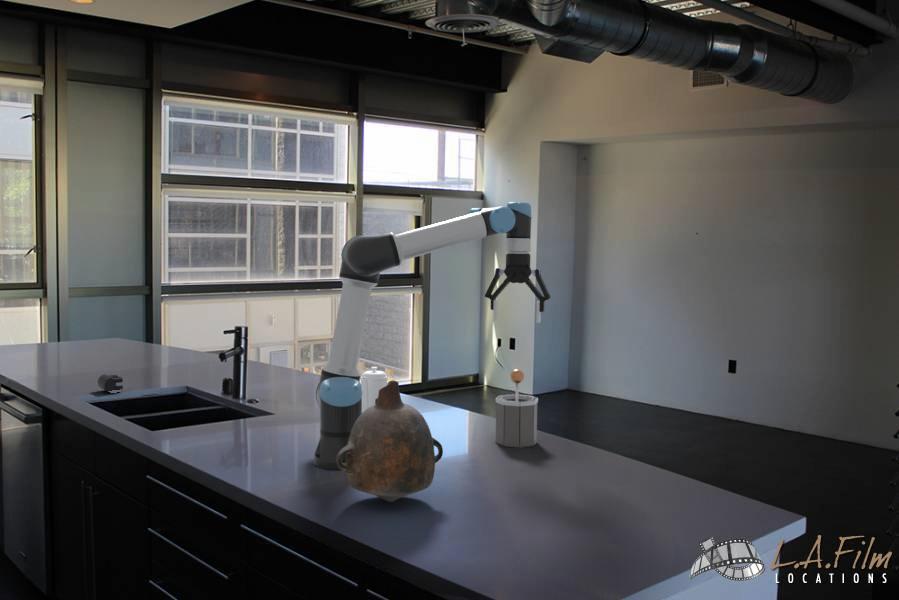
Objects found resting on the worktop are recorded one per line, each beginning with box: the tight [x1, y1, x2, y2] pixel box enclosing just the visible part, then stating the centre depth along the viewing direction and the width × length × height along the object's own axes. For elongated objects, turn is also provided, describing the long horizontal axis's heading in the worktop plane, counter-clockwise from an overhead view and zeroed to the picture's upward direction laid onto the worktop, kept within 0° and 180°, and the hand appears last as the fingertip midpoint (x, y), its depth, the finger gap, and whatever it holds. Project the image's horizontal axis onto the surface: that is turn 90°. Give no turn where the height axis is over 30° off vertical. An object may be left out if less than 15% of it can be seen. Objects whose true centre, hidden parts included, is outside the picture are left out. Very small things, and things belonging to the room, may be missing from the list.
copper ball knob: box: [509, 368, 525, 401], centre depth 257 cm, size 8×8×21 cm
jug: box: [336, 379, 444, 503], centre depth 198 cm, size 24×21×30 cm
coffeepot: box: [360, 366, 389, 412], centre depth 286 cm, size 11×25×19 cm, turn 168°
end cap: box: [97, 374, 124, 392], centre depth 335 cm, size 10×7×7 cm
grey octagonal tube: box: [495, 393, 539, 449], centre depth 259 cm, size 16×12×14 cm
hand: (516, 321), depth 255 cm, fingers open, 13 cm apart
